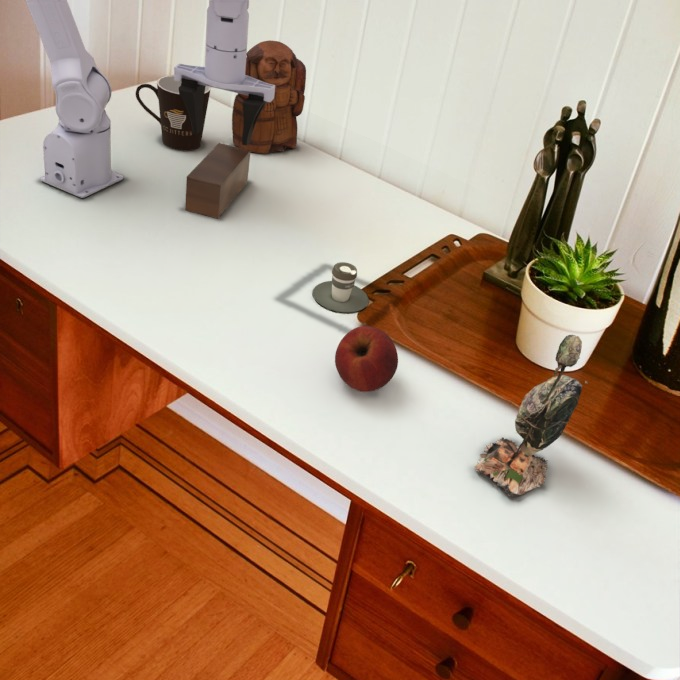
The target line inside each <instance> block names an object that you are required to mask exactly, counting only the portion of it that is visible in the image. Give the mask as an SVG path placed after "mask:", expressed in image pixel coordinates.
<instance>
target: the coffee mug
mask: <svg viewBox="0 0 680 680" xmlns="http://www.w3.org/2000/svg"><path fill="white" fill-rule="evenodd" d="M181 83H182V81H181V82H179V81H175V80H174V74H172V75H171V74H170V75H165V76H162V77H159V78H158V79H157V80H156V86H154V85H152V84H150V83H141V84H140V85H138V86H137V87H136V90H135V98H136V100H137V102H138V103H139V105H140V106H141V107H142V108H143V109H144V111H145V112H147V114H148V115H150V116H151V117H152V118H153V119H155V120H156V121H157V122H158V123H159V125H160V129H161V140H162V144H163V145H164V146H165V147H168V148H170V149H172V150H176V151H183V152H184V151H186V152H188V151H189V152H190V151H195V150H198V149H199V148H200V147H201V144H202V139H203V135H204V134H203V133H204V128H205V123H206V117H207V112H208V106H209V101H210V94H211V91H212V90H211V88H212V87H209V86H206V87H205V93H204V100H203V125H202V130H201V131H200V132H199V133H198V134H194V133H193V130H192V125H191V120H190V117H189V113H188V110H187V108H186V105H185V103H184V101H183V99H182V97H181V96H180V94H179V87H180V86H181ZM145 88H146V89H149V90H151V91H153V93H154V94H155V95H156V98H157V101H158V107H159V108H158V110H159V116H158V115H157V114H156V113H155V112H153V111H152V109H150V108H149V107H148V106H147V105H146V104H145V103H144V101H143V100H142V99H141V96H140V92H141V90H142V89H145Z"/></svg>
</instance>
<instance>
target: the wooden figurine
mask: <svg viewBox="0 0 680 680" xmlns="http://www.w3.org/2000/svg"><path fill="white" fill-rule="evenodd" d="M245 75H247V76H250V77H252V78H255V79H257V80H260V81H262V82H265V83H268V84H272V85H275V95H274V99H273V100H272V101H271V102H266V104H265V106H264V107H263V109H262V111H261V113H260V115H259V117H258V119H257V122H256V124H255V127H254V130H253V133H252V137H251V141H250V143H249V144H248V145H247V146H246V145H242V134H243V125H244V119H243V106H242V103H243V101H244V100H245V99H246V98H248V95H244V94H239V93H236V95H235V97H234V101H233V106H232V114H231V132H232V133H231V134H232V142H233V145H235V147H237V148H241V149H245V150H249V151H250V153H253V154H254V153H255V154H263V155H264V154H265V155H266V154H268V153H277V152H285V150H286V149H296V148H297V143H298V142H297V140H298V120H297V118H298V117H299V116H300V115H302V113H303V111H304V104H305V99H306V96H305V91H306V81H307V68H306V65H305V64H304V62H303V61H301V60H300V59H299V58H298V57H297V56H296V54H295V52H294V50H293V49H292V48H290V46H289V45H287V44H285V43H284V42H281V41H278V40H270V39H269V40H264V41H260V42H258V43H256V44H255V45H254V46H252V47H251V48H250V49H249V50H247V54H246V70H245Z"/></svg>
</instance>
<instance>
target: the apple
mask: <svg viewBox="0 0 680 680" xmlns="http://www.w3.org/2000/svg"><path fill="white" fill-rule="evenodd" d="M397 350H398V349H397V347H396V344H395V343H394V341H393V339H392V338H391V337H390V335H388V333H386V332H385V331H384V330H382V329H380V328H378V327H375V326H371V325H362V326H358V327H355V328H353V329H351V330H350V331H348V332H347V333H346V334H345V335H344V336H343V337H342V339H341V340H340V341H339V343H338V345H337V347H336V350H335V353H334V354H335V355H334V364H335V365H334V366H335V368H336V371H337V374H338V376H339V377H340V378H341V380H342V381H343V382H344V384H346V385H347V386H348V387H349V388H351V389H353V390H355V391H358V392H361V393H370V392H374V391H377V390H379V389H381V388H383V387H385V386H387V384H388V383H390V382H391V380H392V379H393V378H394V377H395V374H396V372H397V370H398V365H399V356H398V351H397Z"/></svg>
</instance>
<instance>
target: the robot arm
mask: <svg viewBox="0 0 680 680" xmlns="http://www.w3.org/2000/svg"><path fill="white" fill-rule="evenodd" d="M24 1H25V3H26V6H27V8H28V11H29V13H30V14H31V18H32V21H33V23H34V25H35V28H36V31H37V32H38V35H39V38H40V41H41V43H42V45H43V47H44V51H45V52H46V55H47V57H48V60H49V63H50V73H51V85H52V88H53V90H54V94H55V107H54V108H55V113H56V115H57V118H58V122H57V125H56V127H55V128H54V129H53V131H51V132H50V133H48V134H47V135H46V136H45V138H44V139H43V145H42V148H43V149H42V150H43V166H44V167H43V168H44V176H41V177H40V181H41V182H43V183H46V184H47V185H50V186H52V187H54V188H57V189H58V190H62V191H64V192H66V193H69V194H70V195H73V196H76V197H78V198H80V199H84V198H86V197H89V196H90V195H93V194H95V193H97V192H99V191H101V190H103V189H105V188H108V187H110V186H112V185H114V184H116V183H118V182H120V181H123V180H124V175H122V174H120V173H117V172H116V171H113V170H112V141H111V139H112V138H111V137H112V135H111V134H112V132H111V129H112V127H111V125H112V124H111V122H112V121H111V119H110V117H109V115H108V113H107V111H106V107H107V105H108V103H109V102H110V100H111V98H112V86H111V83H110V81H109V79H108V78H107V77H106V75H105V74H104V73H103V72H102V71H101V70H100V69H99V67H98V66H97V64H96V60H95V58H94V56H93V55H91V54H90V52H88V50H87V49H86V47H85V45H84V42H83V39H82V37H81V34H80V31H79V29H78V25H77V24H76V21H75V17H74V15H73V13H72V10H71V7H70V4H69V1H68V0H24ZM208 3H209V4H208V7H207V9H206V24H205V25H206V28H205V29H206V30H205V56H204V66H200V65H190V64H185V63H178V64H177V65H175V66H174V69H173V75H174V80H175V81H179V82H181V81H182V83H181V86H180V87H179V94H180V96H181V97H182V99H183V101H184V103H185V105H186V108H187V110H188V113H189V117H190V120H191V125H192V130H193V133H194V134H198V133H199V132H200V131H201V130H202V125H203V100H204V93H205V87H206V86H209V87H211V88H214V89H219V90H223V91H227V92H230V93H236V94H238V93H239V94H244V95H248V98H246V99H245V100H244V101H243V103H242V106H243V119H244V125H243V134H242V145H246V146H247V145H248V144H249V143H250V141H251V137H252V133H253V130H254V127H255V124H256V122H257V119H258V117H259V115H260V113H261V111H262V109H263V107H264V106H265V104H266V102H271V101H272V100H273V99H274V95H275V85H272V84H268V83H265V82H262V81H260V80H257V79H255V78H252V77H250V76H247V75H245V70H246V57H247V55H246V54H247V52H248V40H249V39H248V38H249V37H248V36H249V21H250V13H249V11H248V10H249V8H250V0H208Z"/></svg>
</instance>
